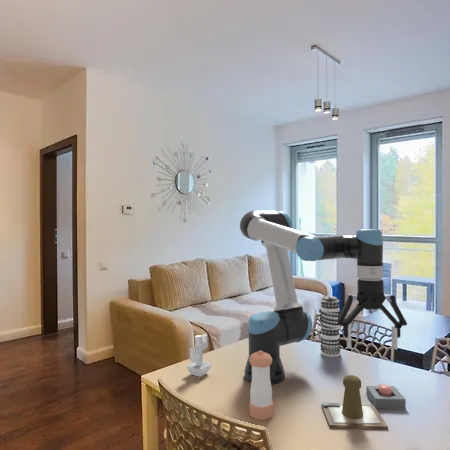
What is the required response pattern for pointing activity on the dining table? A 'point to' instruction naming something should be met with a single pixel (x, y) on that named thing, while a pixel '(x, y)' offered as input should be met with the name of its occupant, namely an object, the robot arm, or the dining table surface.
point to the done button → (385, 390)
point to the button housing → (386, 398)
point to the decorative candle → (330, 326)
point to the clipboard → (338, 420)
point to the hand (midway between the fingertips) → (371, 347)
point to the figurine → (198, 357)
